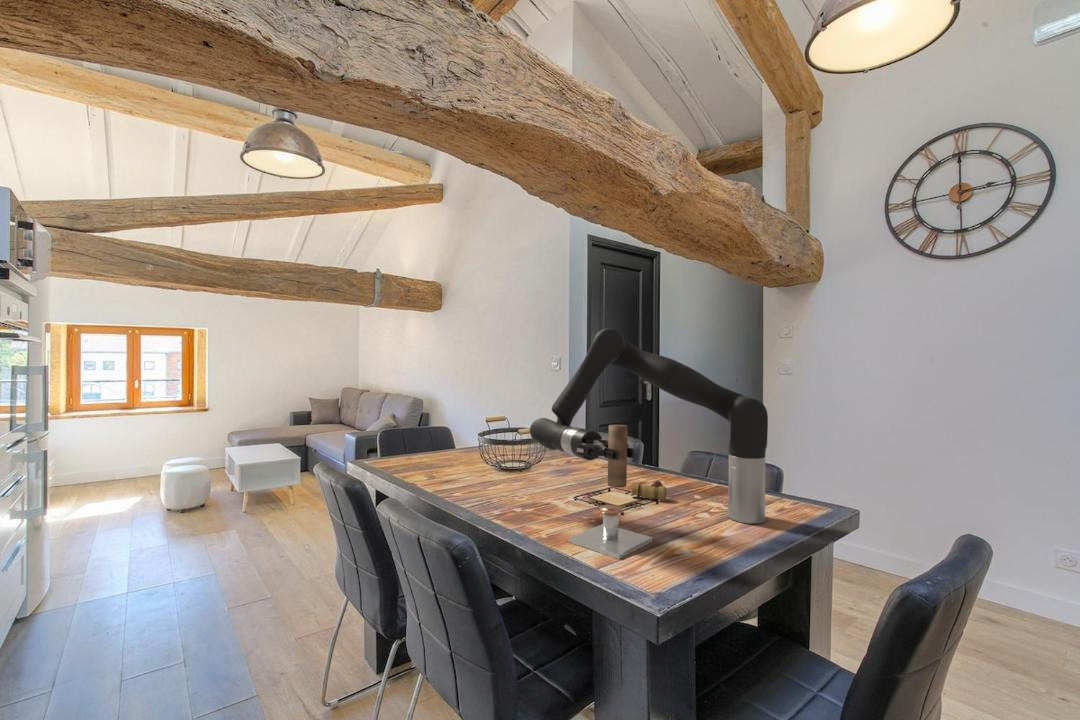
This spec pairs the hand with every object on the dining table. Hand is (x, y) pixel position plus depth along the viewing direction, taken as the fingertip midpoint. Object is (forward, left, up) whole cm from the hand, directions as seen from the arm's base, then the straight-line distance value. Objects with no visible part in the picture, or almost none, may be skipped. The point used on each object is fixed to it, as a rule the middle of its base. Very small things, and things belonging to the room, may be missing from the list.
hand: (625, 454), depth 112 cm
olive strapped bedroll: (-46, -19, -22) cm, 54 cm away
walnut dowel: (-1, -3, -8) cm, 8 cm away
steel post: (0, -4, -21) cm, 21 cm away
